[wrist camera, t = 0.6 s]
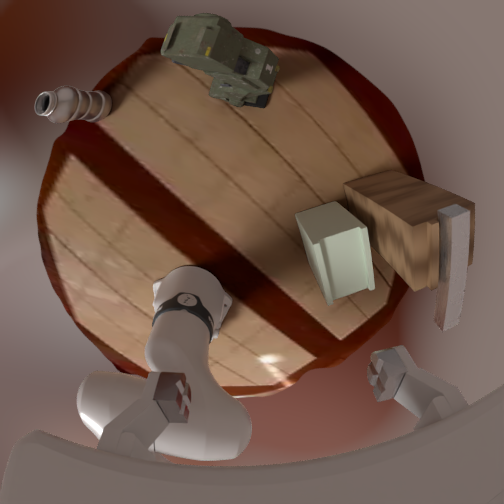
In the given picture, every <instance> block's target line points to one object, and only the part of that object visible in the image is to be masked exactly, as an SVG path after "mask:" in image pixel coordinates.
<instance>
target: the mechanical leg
mask: <svg viewBox="0 0 504 504" xmlns="http://www.w3.org/2000/svg"><path fill="white" fill-rule="evenodd" d="M161 55H162V56H165V57H167V58H170V59H172V62H173V63H177V64H181V65H186V66H189V67H191V68H194V69H198V70H203V71H204V72H205V74H207V75H209V76H212V77H214V79H213V82H212V85H211V88H210V92H209V96H211V97H213V98H218V99H222V100H225V101H227V102H229V103H230V104H232V105H234V106H237V107H242V106H243V105H246V106H253V107H259V108H265V106H266V103H267V100H268V97H269V94H270V93H272V90H273V84H274V81H275V78H276V75H277V73H278V71H279V68H280V67H279V66H278V65H277V63H278V60H279V59H278V57H277V56H276V55H275V54H274V53H273V52H272V51H271V50H270V49H269V48H267V47H265V46H263V45H260V44H258V43H255V42H253V41H251V40H248V39H246V38H243V35H242V34H241V33H240V32H238V31H237V30H236V29H234V28H233V27H232V26H231V23H230V22H229V21H228V20H227V19H225V18H223V17H221V16H218V15H215V14H209V13H201V14H196V15H194V16H177V17H176V19H175V22H174V24H172V25H171V26H170V27H169V30H168V32H167V35H166V38H165V40H164V43H163V46H162V48H161Z"/></svg>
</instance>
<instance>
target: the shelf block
mask: <svg viewBox="0 0 504 504" xmlns="http://www.w3.org/2000/svg"><path fill="white" fill-rule="evenodd" d="M295 217H296V220H297V223H298V227H299V230H300V234H301V237H302V240H303V244H304V248H305V251H306V255H307V258H308V262H309V265H310V267H311V269H312V271H313V273H314V276H315V278H316V280H317V282H318V284H319V287H320V289H321V291H322V293H323V296H324V298H325V300H326V302H327V305H328V306H329V305H332V304H333V300H335V299H338V298H341V297H344V296H347V295H350V294H352V293H355V292H358V291H361V290H363V289H366V288H368V289H369V290H370V291H371V290H373V289H375V283H374V274H373V265H372V257H371V250H370V243H369V237H368V230H367V227H366V226H365V225H364V224H363V223H362V222H360V221H359V220H358V219H357V218H356V217H355V216H353V215H352V214H351V213H350V212H349V211H347V210H346V209H345V208H344V207H342V206H341V205H340V204H339V203H337V202H336V201H334V202H330V203H327V204H324V205H321V206H318V207H314V208H311V209H308V210H305V211H302V212H299V213H296V214H295Z"/></svg>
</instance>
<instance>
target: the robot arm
mask: <svg viewBox="0 0 504 504" xmlns="http://www.w3.org/2000/svg"><path fill="white" fill-rule="evenodd" d="M153 290H154V297H155V299H154V301H153V306H154V310H155V315H154V318H153V323H152V330H151V333H150V335H149V338H148V341H147V343H146V346H145V358H146V361H147V363H148V365H149V367H150V368H151V370H152V371H151V372H150V373H149V375H148V379H142V378H139V377H135V376H131V375H128V374H124V373H115V372H105V371H94V372H93V373H91V374H89V375H88V376H87V377H86V378H85V379H84V381H83V382H82V383H81V385H80V388H79V390H78V394H77V408H78V412H79V415H80V417H81V419H82V421H83V423H84V424H85V425H86V426H87V427H88V428H89V429H90V430H91V431H92V432H93V433H94V434H95V435H96V437H97V438H98V439H99V443H98V446H97V449H94V448H91V447H87V446H84V445H81V444H78V443H74V442H71V441H68V440H66V439H63V438H60V437H57V436H54V435H52V434H50V433H47V432H44V431H42V430H34V431H31V432H30V433H28V434H27V435H25V436H24V437H22V438H21V439H19V440H18V441H17V442H16V443H15V445H14V447H13V449H12V452H11V454H10V458H9V460H8V463H7V466H6V470H5V474H4V477H3V482H2V487H1V492H0V504H504V384H503V385H501V386H500V387H498V388H497V389H496V390H494V391H492V392H491V393H489V394H488V395H486V396H485V397H483V398H481V399H479V400H478V401H476V402H474V403H472V404H471V405H468V404H467V402H466V400H465V399H464V397H463V395H462V394H461V392H460V390H459V389H458V387H456V386H454V385H452V384H450V383H448V382H446V381H444V380H443V379H441V378H439V377H437V376H435V375H433V374H431V373H429V372H427V371H425V370H423V369H422V368H419V369H418V368H417V366H416V364H415V363H414V361H413V360H412V358H411V356H410V355H409V353H408V352H407V350H406V348H405V347H404V346H403V345H401V346H397V347H393V348H388V349H384V350H380V351H376V352H373V353H372V354H371V360H372V362H371V363H370V364H369V365H368V369H367V376H368V380H369V383H370V384H371V385H373V386H374V390H373V392H374V395H375V397H376V399H377V402H380V401H384V400H387V399H391V398H394V399H395V400H396V401H398V402H399V403H400V404H402V405H403V406H404V407H406V408H407V409H408V410H410V411H411V412H412V413H413V414H415V415H416V416H417V417H419V418H420V420H419V421H418V423H417V424H416V426H415V427H414V432H411V433H409V434H406V435H403V436H400V437H398V438H395V439H392V440H389V441H386V442H383V443H380V444H377V445H373V446H369V447H366V448H362V449H359V450H355V451H351V452H347V453H342V454H338V455H333V456H328V457H323V458H318V459H312V460H305V461H299V462H292V463H282V464H273V465H259V466H195V465H182V464H174V463H172V462H170V461H169V460H167V459H166V458H164V457H163V456H162V455H161V454H160V453H162V454H167V455H171V456H176V457H182V458H187V459H194V460H201V461H211V460H212V461H213V460H227V459H234V458H236V457H237V456H239V455H240V454H241V453H242V452H243V451H244V449H245V448H246V446H247V445H248V443H249V441H250V437H251V432H252V425H251V420H250V416H249V414H248V412H247V410H246V408H245V407H244V406H243V404H242V403H241V402H240V401H239V400H237V399H235V398H234V397H232V396H231V395H230V394H228V393H227V392H226V391H225V390H224V389H223V388H222V387H221V386H220V385H219V384H218V383H217V381H216V380H215V378H214V377H213V375H212V373H211V371H210V368H209V364H208V351H209V344H210V342H211V341H212V340H213V338H217V337H218V334H219V328H220V327H221V323H222V321H223V319H224V317H225V316H226V314H227V312H228V310H229V308H230V306H231V304H232V298H231V297H230V296H229V295H228V294H227V293H226V292H225V291H224V290H223V288H222V286H221V284H220V282H219V281H218V280H217V278H216V277H215V276H214V275H212V274H211V273H210V272H208V271H206V270H204V269H202V268H199V267H194V266H184V267H179V268H177V269H175V270H173V271H171V272H170V273H169V274H168V275H167V276H166V277H165V278H163V279H160V280H157V281H155V282H154V285H153ZM224 304H226V305H224Z"/></svg>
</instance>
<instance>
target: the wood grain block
mask: <svg viewBox="0 0 504 504" xmlns="http://www.w3.org/2000/svg"><path fill="white" fill-rule="evenodd" d="M343 185H344V190H345V194H346V198H347V203H348V207H349V212H350V213H351V214H352V215H353V216H355V217H356V218H357V219H358V220H359V221H360V222H362V223H363V224H364V225H365V226H366V227H367V230H368V237H369V243H370V245H371V246H372V247H373V248H374V249H375V250H376V251H377V252H378V253H379V254H380V255H381V256H382V257H383V258H384V259H385V260H386V261H387V262H388V263H389V264H390V265H391V267H392V268H393V269H394V270H395V271H396V272H397V273H398V274H399V275H400V276H401V277H402V278H403V279H404V281H405V282H406V283H407V284H408V285H409V286H410V287H411V288H412V289H413V290H414V291H417V290H420V289H422V288H424V287H426V286H428V287H429V288H430V290H433V289H436V288H438V277H439V222H438V211H437V210H440V209H442V208H445V207H448V206H451V205H453V204H457V205H459V206H461V207H463V208H465V209H467V210H469V211H470V237H469V255H468V266H469V265H471V264H472V260H473V248H474V230H475V229H474V228H475V203H473V202H471V201H469V200H467V199H465V198H463V197H460V196H458V195H456V194H453V193H451V192H449V191H446V190H444V189H442V188H439V187H437V186H434V185H431V184H429V183H427V182H424V181H421V180H419V179H416V178H413V177H410V176H408V175H405V174H402V173H399V172H396V171H393V170H389V171H386V172H382V173H379V174H375V175H371V176H368V177H364V178H361V179H357V180H354V181H351V182H347V183H344V184H343ZM468 266H467V269H468Z"/></svg>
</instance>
